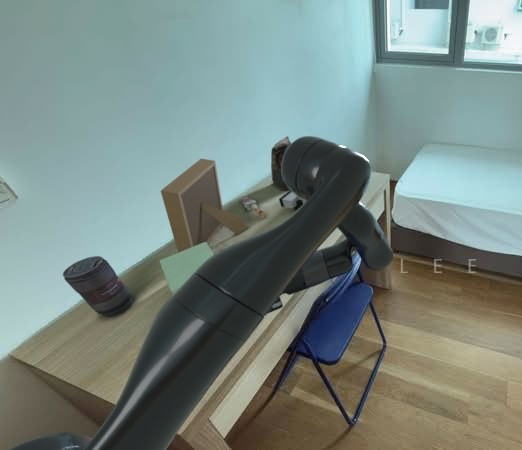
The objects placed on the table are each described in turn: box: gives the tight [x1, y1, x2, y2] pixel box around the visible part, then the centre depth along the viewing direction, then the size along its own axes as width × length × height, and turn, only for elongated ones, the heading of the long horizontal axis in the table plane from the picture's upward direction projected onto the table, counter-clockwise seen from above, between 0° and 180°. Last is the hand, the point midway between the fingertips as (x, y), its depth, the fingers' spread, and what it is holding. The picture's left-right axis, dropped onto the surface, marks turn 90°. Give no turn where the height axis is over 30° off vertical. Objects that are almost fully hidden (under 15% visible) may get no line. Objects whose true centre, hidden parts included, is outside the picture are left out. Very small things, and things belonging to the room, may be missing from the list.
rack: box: [159, 242, 215, 295], centre depth 86 cm, size 16×12×8 cm
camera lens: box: [62, 255, 134, 318], centre depth 78 cm, size 8×8×15 cm
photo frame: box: [160, 158, 248, 253], centre depth 99 cm, size 15×22×25 cm
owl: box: [270, 135, 292, 192], centre depth 132 cm, size 13×13×20 cm
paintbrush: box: [238, 196, 267, 219], centre depth 121 cm, size 4×3×20 cm
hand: (223, 298), depth 61 cm, fingers open, 8 cm apart
